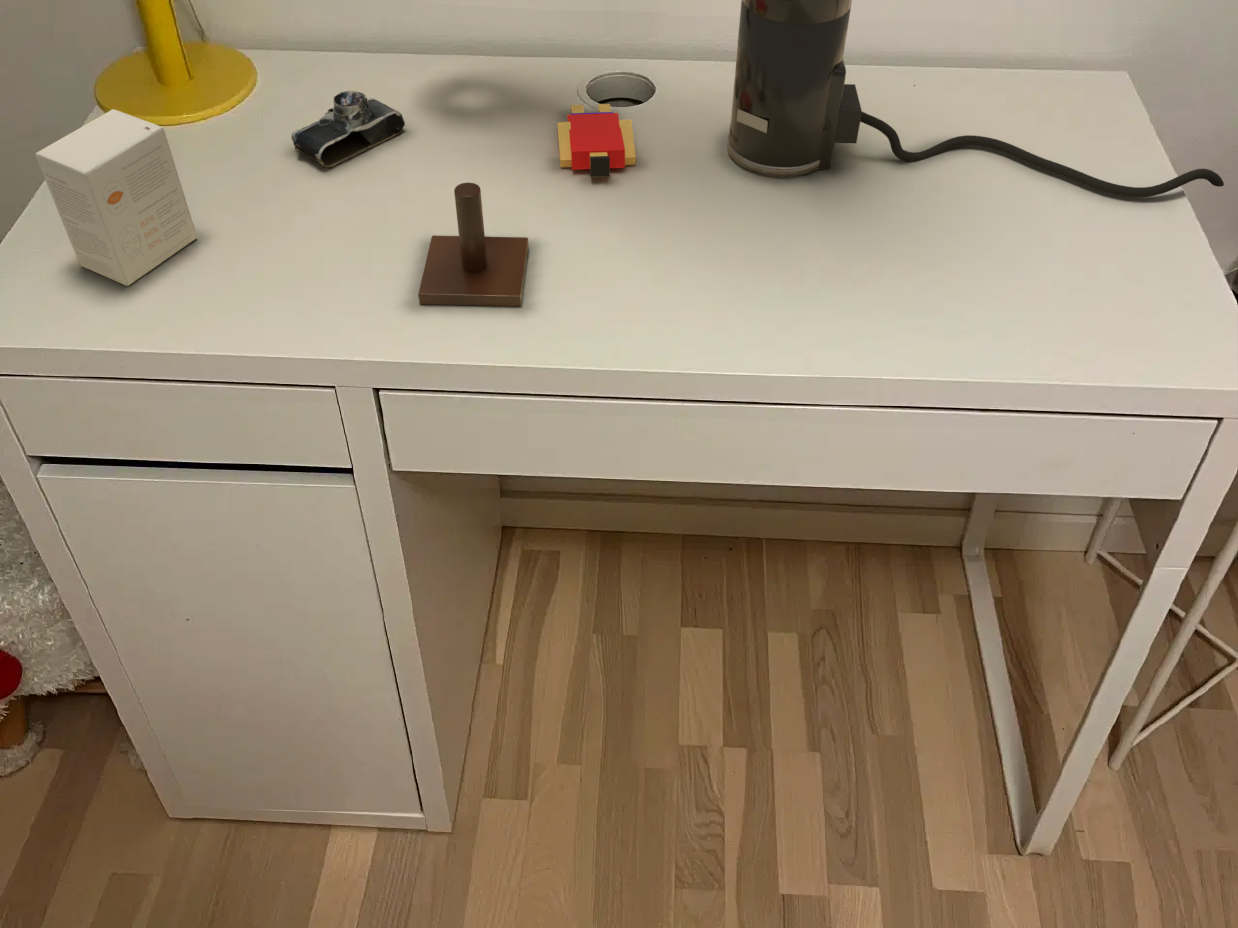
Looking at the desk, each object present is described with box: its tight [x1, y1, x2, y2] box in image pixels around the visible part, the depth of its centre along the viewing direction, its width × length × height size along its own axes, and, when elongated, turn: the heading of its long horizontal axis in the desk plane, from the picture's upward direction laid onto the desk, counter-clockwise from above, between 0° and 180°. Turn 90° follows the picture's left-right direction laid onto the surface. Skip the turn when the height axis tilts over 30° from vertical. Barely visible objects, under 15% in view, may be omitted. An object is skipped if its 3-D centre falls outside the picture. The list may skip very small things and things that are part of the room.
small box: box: [35, 108, 198, 287], centre depth 91 cm, size 8×6×10 cm
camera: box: [290, 90, 406, 168], centre depth 106 cm, size 5×10×4 cm, turn 137°
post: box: [417, 182, 529, 307], centre depth 90 cm, size 8×8×8 cm
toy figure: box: [557, 103, 637, 178], centre depth 106 cm, size 2×7×12 cm
